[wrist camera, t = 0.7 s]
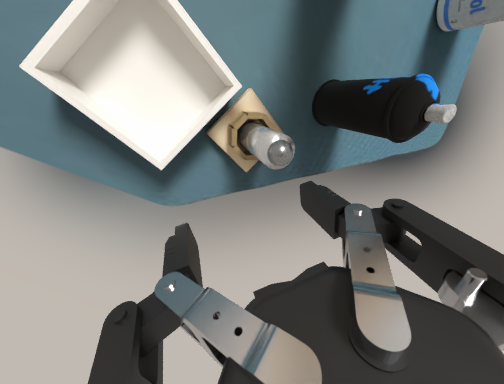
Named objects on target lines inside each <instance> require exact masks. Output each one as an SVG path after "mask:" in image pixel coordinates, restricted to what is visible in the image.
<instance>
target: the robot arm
mask: <svg viewBox="0 0 504 384" xmlns="http://www.w3.org/2000/svg"><path fill="white" fill-rule="evenodd" d="M300 197H301V205H302V207H303V209H304V210H305V211H306V212H307V213H308V214H309V215H310V216H311V217H312V218H313V219H314V220H315V221H316V222H317V223H318V224H319V225H320V226H321V227H322V228H323V229H324V230H325V231H326V232H327V233H328V234H329V235H330V236H331V237H332V238H333V239H336V238H338V237H341V238H342V253H343V267H336V266H331V267H328V266H327V265H326V264H325V263H324V262H322V263H319V264H317V265H315V266H313V267H310V268H308V269H306V270H305V271H304V272H303V273H301V274H300V275H299V276H298V277H296V278H295V279H294V280H292V281H288V282H281V283H276V284H271V285H268V286H266V287H264V288H261V289H259V290H257V291H255V292H253V293H254V296H255V299H253V300H252V301H251V302H250V303H249V304H248V305H247V307H246V308H245V309H243V308H242V307H240V306H238V305H237V304H235V303H234V302H232V301H230V300H229V299H227V298H226V297H224V296H223V295H221V294H220V293H218V292H216V291H215V290H213V289H212V288H209V287H207V288H206V289H204V288H203V285H202V277H201V269H200V259H199V251H198V245H197V242H196V240H195V237H194V235H193V233H192V231H191V229H190V227H189V224H188V223H185V224H182V225H179V226H176V227H175V235H174V236H171V237H169V239H168V240H167V242H166V244H165V255H164V256H165V257H164V265H163V277H162V278H161V279H160V280H159V281H158V283H157V285H156V287H155V291H154V292H153V293H152V294H151V295H149V296H148V297H147V298H145V299H144V300H142V301H141V302H139V303H138V304H136V303H135V302H133V301H127V302H124V303H122V304H120V305H118V306H117V307H116V308H114V309H113V310H112V311H111V312H110V313H109V315H108V316H107V318H106V319H105V322H104V324H103V328H102V331H101V335H100V339H99V343H98V347H97V350H96V355H95V358H94V362H93V366H92V370H91V373H90V377H89V381H88V384H163V339H165V338H166V337H167V336H168V335H170V334H171V333H172V332H173V331H175V330H176V329H177V328H178V327H181V328H182V329H183V330H184V331H185V332H186V333H187V334H188V335H190V336H191V337H192V338H193V339H194V340H195V341H196V342H197V343H198V344H199V345H201V346H202V347H203V348H204V349H205V350H206V352H207V353H208V354H209V355H210V356H211V357H212V358H213V359H214V360H215V361H216V362H217V363H219V364H220V365H221V366H222V367H223V369H222V372H221V375H220V378H219V381H218V384H504V354H503V353H502V350H504V255H503V254H501V253H500V252H498V251H496V250H494V249H492V248H490V247H488V246H487V245H485V244H483V243H482V242H480V241H478V240H476V239H474V238H472V237H471V236H469V235H467V234H465V233H463V232H461V231H459V230H458V229H456V228H454V227H452V226H451V225H449V224H447V223H445V222H443V221H442V220H440V219H438V218H436V217H434V216H433V215H431V214H429V213H427V212H425V211H424V210H422V209H420V208H418V207H416V206H414V205H413V204H411V203H409V202H407V201H405V200H401V199H388V200H386V201H385V202H384V204H383V207H381V208H373V209H370V208H369V207H367V206H365V205H362V204H351V203H349V202H348V201H346V200H345V199H343V198H342V197H340V196H339V195H336V193H334V192H332V191H331V190H330V189H328V188H327V187H324V186H321V185H316V184H315V183H313V182H312V181H309V182H306V183H303V184H301V185H300ZM406 231H408V232H410V233H411V234H412V235H414V236H415V237H417V238H418V239H419V240H420V242H421V244H422V246H421V245H419V244H418V243H416V242H415V241H413V240H412V239H411V238H409V237H408V236H407V235H405V234H406ZM385 248H386V249H387V250H388V251H389V252H391V253H392V254H393V255H394V256H395V257H396V258H397V259H399V260H400V261H401V262H402V263H403V264H404V265H406V266H407V267H408V268H409V269H410V270H411V271H413V272H414V273H415V274H416V275H417V276H418V277H420V278H421V279H422V280H423V281H424V282H425V283H427V284H428V285H429V286H430V287H431V288H432V289H433V290H435V291H436V292H437V293H438V296H439V298H440V300H441V301H442V303H443V304H442V303H440V302H437V301H434V300H431V299H429V298H426V297H423V296H421V295H418V294H415V293H412V292H410V291H407V290H405V289H402V288H399V287H397V286H395V284H394V280H393V277H392V273H391V269H390V265H389V262H388V258H387V254H386V251H385Z"/></svg>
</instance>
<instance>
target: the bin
mask: <svg viewBox="0 0 504 384" xmlns="http://www.w3.org/2000/svg"><path fill="white" fill-rule="evenodd" d="M19 67H20V68H22V69H23V70H25V71H26V72H27V73H29V74H30V75H31V76H33V77H34V78H36V79H37V80H38V81H40V82H41V83H42V84H44V85H45V86H47V87H48V88H49V89H51V90H52V91H53V92H55V93H56V94H57V95H59V96H60V97H62V98H63V99H64V100H66V101H67V102H68V103H70V104H71V105H73V106H74V107H75V108H77V109H78V110H79V111H81V112H82V113H84V114H85V115H86V116H88V117H89V118H90V119H92V120H93V121H95V122H96V123H97V124H99V125H100V126H101V127H103V128H104V129H106V130H107V131H108V132H110V133H111V134H112V135H114V136H115V137H116V138H118V139H119V140H121V141H122V142H123V143H125V144H126V145H127V146H129V147H130V148H132V149H133V150H134V151H136V152H137V153H138V154H140V155H141V156H143V157H144V158H145V159H147V160H148V161H149V162H151V163H152V164H154V165H155V166H156V167H158V168H159V169H160V170H162V169H163V168H164V167H165V166H166V165H167V164H168V163H169V162H170V161H171V160H172V159H173V158H174V157H175V156H176V155H177V154H178V153H179V152H180V151H181V150H182V149H183V147H184V146H185V145H186V144H187V143H188V142H189V141H190V140H191V139H192V138H193V137H194V136H195V135H196V134H197V133H198V132H199V131H200V130H201V129H202V128H203V127H204V126H205V125H206V123H207V122H208V121H209V120H210V119H211V118H212V117H213V116H214V115H215V114H216V113H217V112H218V111H219V110H220V109H221V108H222V107H223V106H224V105H225V104H226V103H227V102H228V101H229V100H230V98H231V97H232V96H233V95H234V94H235V93H236V92H237V91H238V90H239V89H240V88H241V87H242V86H241V84H240V83H239V82H238V80H237V79H236V78H235V76H234V75H233V74H232V72H231V71H230V70H229V68H228V67H227V66H226V64H225V63H224V62H223V60H222V59H221V58H220V56H219V55H218V54H217V52H216V51H215V50H214V48H213V47H212V46H211V44H210V43H209V42H208V40H207V39H206V38H205V36H204V35H203V34H202V32H201V31H200V30H199V28H198V27H197V26H196V24H195V23H194V22H193V20H192V19H191V18H190V16H189V15H188V14H187V12H186V11H185V10H184V8H183V7H182V6H181V4H180V3H179V2H178V0H73V1H72V3H71V4H70V5H69V6H68V8H67V9H66V10H65V11H64V12H63V14H62V15H61V16H60V17H59V18H58V20H57V21H56V22H55V23H54V25H53V26H52V27H51V28H50V29H49V31H48V32H47V33H46V34H45V35H44V37H43V38H42V39H41V40H40V42H39V43H38V44H37V45H36V46H35V48H34V49H33V50H32V51H31V52H30V54H29V55H28V56H27V57H26V58H25V60H24V61H23V62H22V63H21V65H20V66H19Z"/></svg>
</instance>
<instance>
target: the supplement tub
mask: <svg viewBox="0 0 504 384" xmlns="http://www.w3.org/2000/svg"><path fill="white" fill-rule="evenodd" d="M499 21H504V0H439V1H438V6H437V22H438V25H439V27H440V28H441V29H442V30H444V31H454V30H459V29H464V28H469V27H474V26H479V25H484V24H489V23H494V22H499Z"/></svg>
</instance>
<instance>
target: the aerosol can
mask: <svg viewBox="0 0 504 384" xmlns="http://www.w3.org/2000/svg"><path fill="white" fill-rule="evenodd" d="M312 110H313V115H314V118H315V120H316V121H317V122H318V123H319V124H321V125H323V126H334V127H338V128H343V129H347V130H351V131H356V132H360V133H365V134H369V135H373V136H378V137H382V138H387V139H389V140H390V141H392V142H395V143H402V142H405V141H408V140H409V139H411V138H413V137H414V136H416V135H418V134H419V133H421V132H422V131H424V130H425V129H426V128H427V127H428V125H429V124H430V123H431V122H437V123H448V122H449V121H451V119H452V118H453V117H454V115H455V113H456V106H455V105H452V104H447V105H441V104H440V92H439V89H438V87H437V85H436V83H435V81H434V79H433V78H432V77H431V76H430V75H428V74H417V75H414V76H412V77H398V78H381V79H364V80H347V81H339V80H330V81H328V82H326V83H324V84H323V85H322V86H321V87H320V88H319V90H318V91H317V93H316V95H315V97H314V100H313V106H312Z"/></svg>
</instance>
